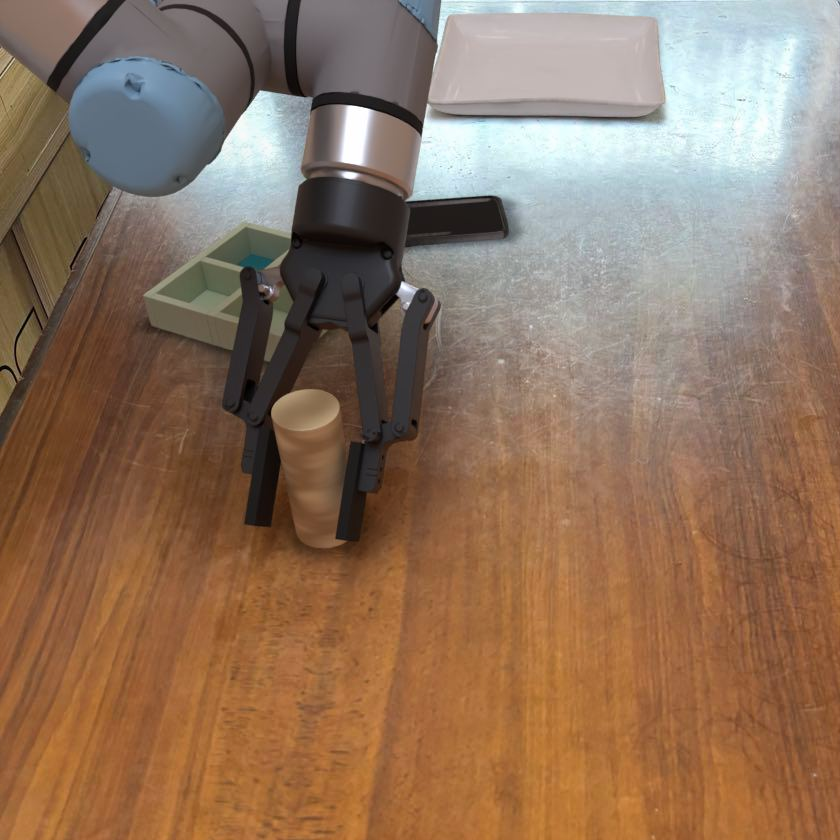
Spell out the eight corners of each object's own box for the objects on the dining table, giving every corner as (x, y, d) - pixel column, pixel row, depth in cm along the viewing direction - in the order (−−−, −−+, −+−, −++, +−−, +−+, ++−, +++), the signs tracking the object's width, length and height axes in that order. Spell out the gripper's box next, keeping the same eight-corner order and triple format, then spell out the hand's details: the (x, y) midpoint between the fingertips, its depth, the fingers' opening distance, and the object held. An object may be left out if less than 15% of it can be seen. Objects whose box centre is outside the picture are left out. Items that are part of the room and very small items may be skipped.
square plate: (449, 40, 146) (447, 10, 143) (655, 44, 145) (658, 13, 143) (425, 128, 127) (423, 94, 124) (664, 132, 126) (667, 99, 123)
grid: (152, 330, 97) (142, 295, 95) (250, 255, 106) (243, 220, 104) (288, 372, 93) (281, 336, 90) (378, 290, 102) (374, 255, 99)
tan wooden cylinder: (284, 541, 78) (257, 418, 70) (319, 504, 81) (296, 381, 73) (337, 561, 77) (314, 437, 69) (370, 522, 80) (352, 399, 72)
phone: (352, 205, 111) (500, 194, 113) (353, 215, 112) (500, 204, 113) (354, 244, 105) (510, 232, 107) (356, 254, 106) (510, 242, 108)
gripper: (501, 224, 76) (449, 555, 76) (249, 195, 79) (198, 514, 79) (479, 187, 69) (421, 554, 69) (201, 157, 72) (145, 509, 72)
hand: (302, 532), depth 74 cm, fingers open, 6 cm apart
